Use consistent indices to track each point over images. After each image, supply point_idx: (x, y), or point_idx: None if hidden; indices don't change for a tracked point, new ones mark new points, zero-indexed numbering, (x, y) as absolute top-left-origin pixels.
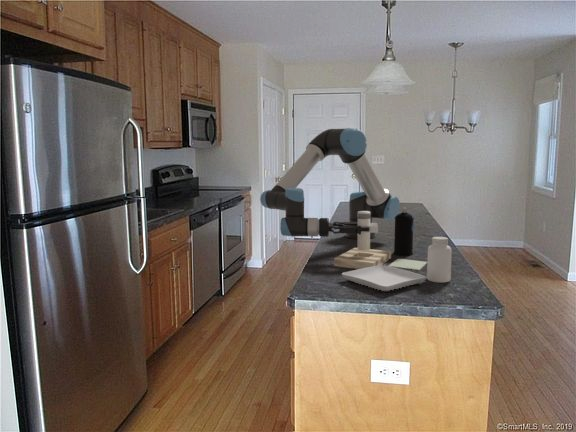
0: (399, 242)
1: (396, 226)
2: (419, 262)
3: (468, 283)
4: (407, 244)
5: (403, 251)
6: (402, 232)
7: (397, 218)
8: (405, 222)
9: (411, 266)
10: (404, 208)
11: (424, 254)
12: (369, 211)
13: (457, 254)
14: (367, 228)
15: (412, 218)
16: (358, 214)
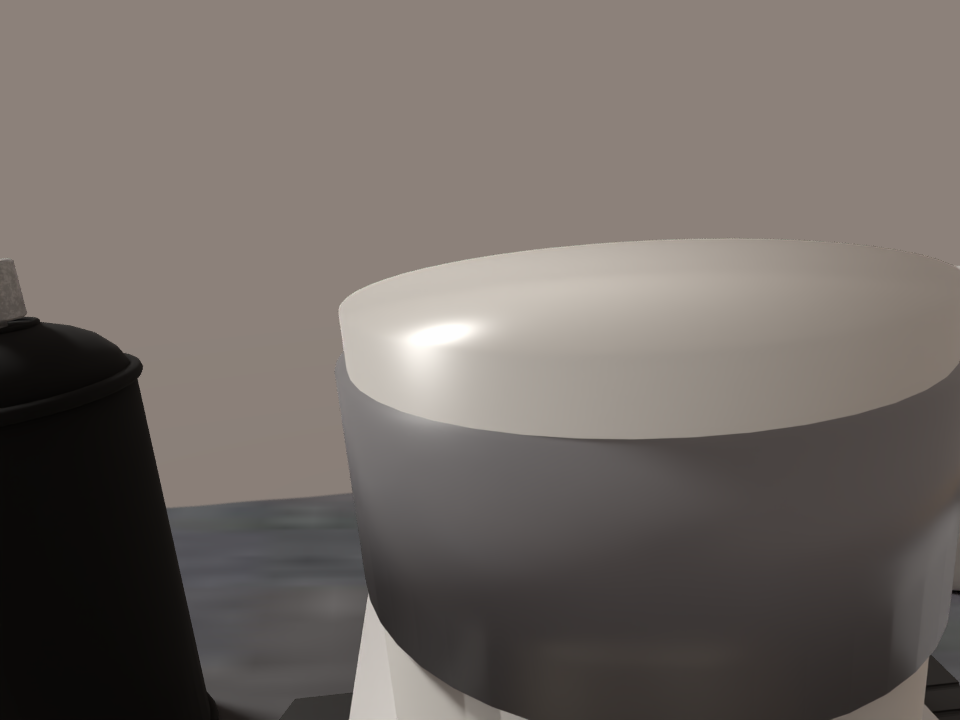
0: (144, 666)
1: (38, 519)
2: None
3: None
4: (191, 624)
5: (196, 716)
6: (144, 538)
7: (38, 406)
8: (135, 412)
9: None
10: (7, 263)
11: (198, 620)
12: (497, 255)
13: (243, 502)
14: (937, 679)
15: (124, 353)
16: (941, 447)
